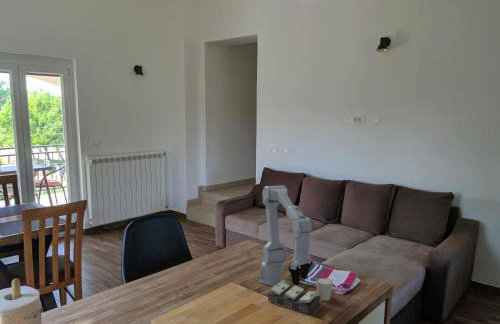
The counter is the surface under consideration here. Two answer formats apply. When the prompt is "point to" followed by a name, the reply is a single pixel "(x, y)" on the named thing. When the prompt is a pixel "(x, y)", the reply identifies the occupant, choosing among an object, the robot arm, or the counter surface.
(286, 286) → the pale rectangular block
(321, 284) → the shot glass
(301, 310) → the filing cabinet
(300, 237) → the robot arm
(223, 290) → the counter surface
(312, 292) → the cabinet drawer
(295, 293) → the filing cabinet drawer
